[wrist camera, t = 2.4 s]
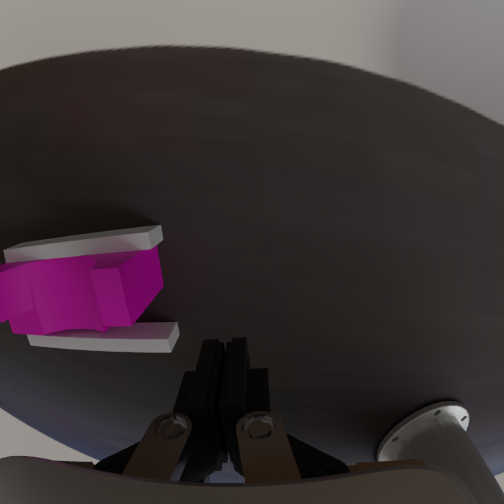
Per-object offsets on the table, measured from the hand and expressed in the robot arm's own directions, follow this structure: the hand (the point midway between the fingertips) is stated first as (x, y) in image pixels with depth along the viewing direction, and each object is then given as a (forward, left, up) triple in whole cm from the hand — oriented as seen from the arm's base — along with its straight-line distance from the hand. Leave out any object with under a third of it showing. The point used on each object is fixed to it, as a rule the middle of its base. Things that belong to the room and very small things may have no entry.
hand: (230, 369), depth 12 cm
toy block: (0, +14, -13) cm, 19 cm away
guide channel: (-1, +14, -13) cm, 19 cm away
